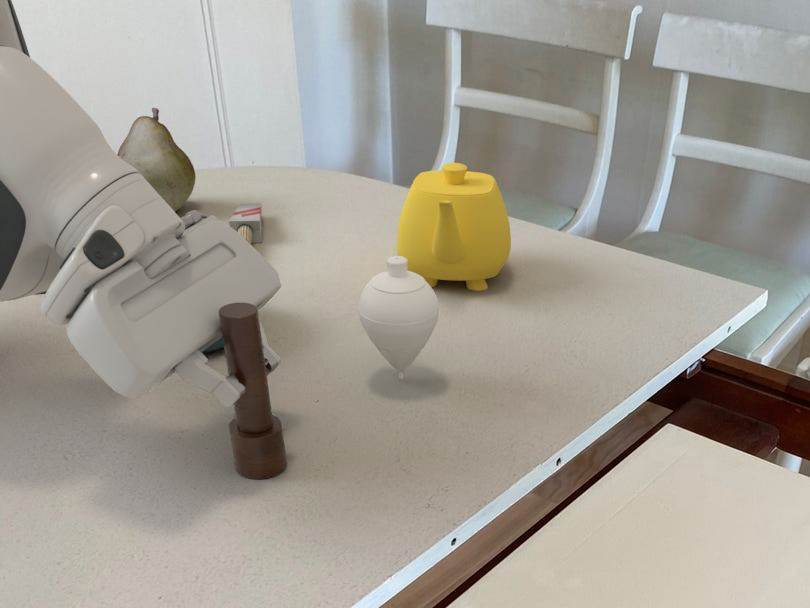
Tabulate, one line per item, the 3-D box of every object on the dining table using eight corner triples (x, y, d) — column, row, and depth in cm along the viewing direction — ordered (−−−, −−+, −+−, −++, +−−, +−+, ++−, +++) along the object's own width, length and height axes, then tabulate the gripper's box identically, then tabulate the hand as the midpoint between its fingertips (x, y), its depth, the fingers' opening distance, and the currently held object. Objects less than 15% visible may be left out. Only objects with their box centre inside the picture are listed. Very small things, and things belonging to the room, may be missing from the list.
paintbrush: (264, 191, 129) (253, 255, 115) (267, 212, 131) (256, 277, 117) (234, 191, 129) (220, 255, 114) (237, 212, 131) (223, 277, 116)
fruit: (204, 199, 136) (189, 104, 128) (194, 223, 129) (177, 123, 121) (129, 199, 135) (109, 103, 127) (115, 222, 128) (92, 122, 120)
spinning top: (453, 387, 96) (453, 265, 88) (382, 404, 93) (376, 280, 85) (417, 355, 101) (415, 238, 93) (350, 371, 98) (341, 251, 90)
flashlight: (232, 479, 83) (204, 321, 74) (239, 452, 86) (213, 298, 77) (284, 479, 83) (263, 322, 74) (289, 452, 86) (269, 298, 77)
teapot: (386, 309, 110) (380, 193, 101) (408, 244, 124) (405, 139, 116) (504, 315, 109) (509, 199, 101) (512, 249, 124) (517, 144, 116)
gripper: (184, 227, 84) (296, 353, 89) (24, 318, 70) (166, 463, 74) (221, 180, 80) (336, 314, 84) (58, 266, 66) (207, 422, 70)
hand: (255, 384), depth 79 cm, fingers open, 4 cm apart
